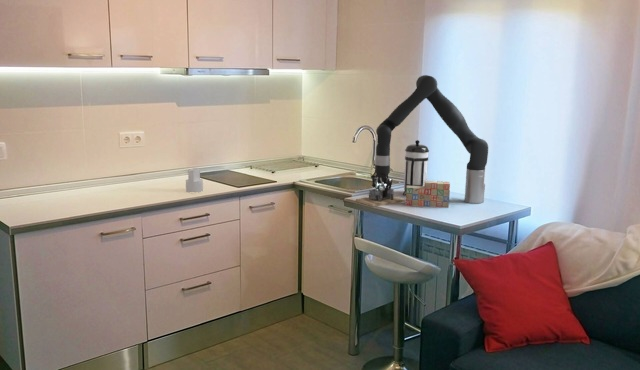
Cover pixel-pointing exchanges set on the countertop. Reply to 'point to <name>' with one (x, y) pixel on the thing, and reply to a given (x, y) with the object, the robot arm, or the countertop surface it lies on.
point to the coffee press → (415, 165)
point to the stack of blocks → (429, 194)
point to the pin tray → (381, 200)
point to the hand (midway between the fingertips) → (381, 196)
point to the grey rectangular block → (379, 193)
